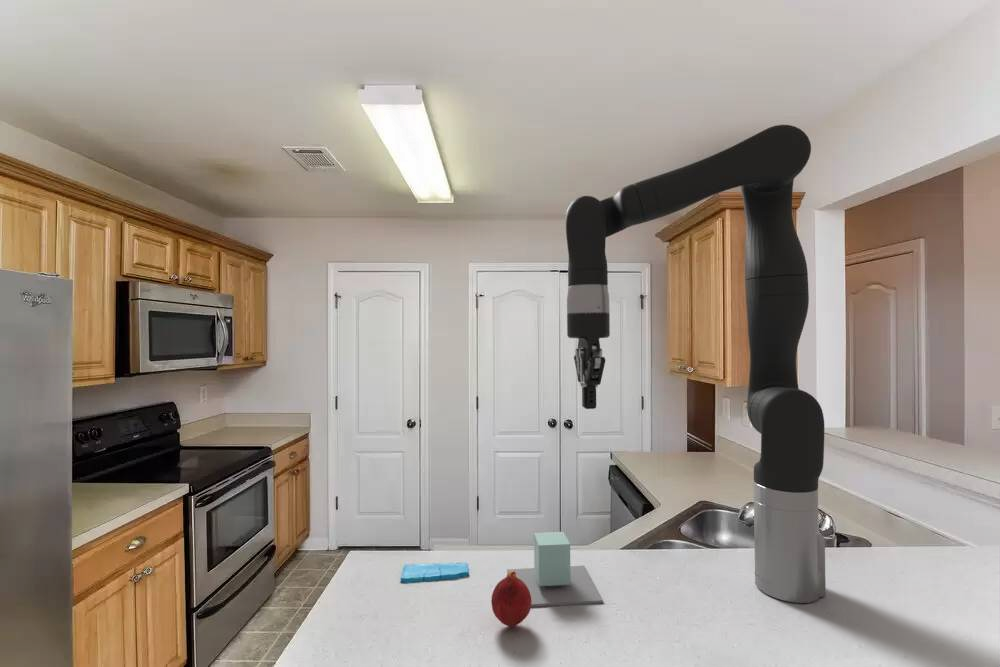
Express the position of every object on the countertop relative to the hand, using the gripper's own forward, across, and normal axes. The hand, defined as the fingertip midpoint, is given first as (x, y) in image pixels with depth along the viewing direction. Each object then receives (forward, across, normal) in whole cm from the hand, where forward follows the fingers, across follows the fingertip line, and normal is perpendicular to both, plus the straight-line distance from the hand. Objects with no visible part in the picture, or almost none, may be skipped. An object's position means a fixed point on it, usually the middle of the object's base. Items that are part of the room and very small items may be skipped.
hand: (589, 408), depth 90 cm
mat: (+29, -5, +8) cm, 30 cm away
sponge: (+30, +1, +28) cm, 41 cm away
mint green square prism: (+28, -5, +8) cm, 29 cm away
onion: (+29, -16, +16) cm, 37 cm away
